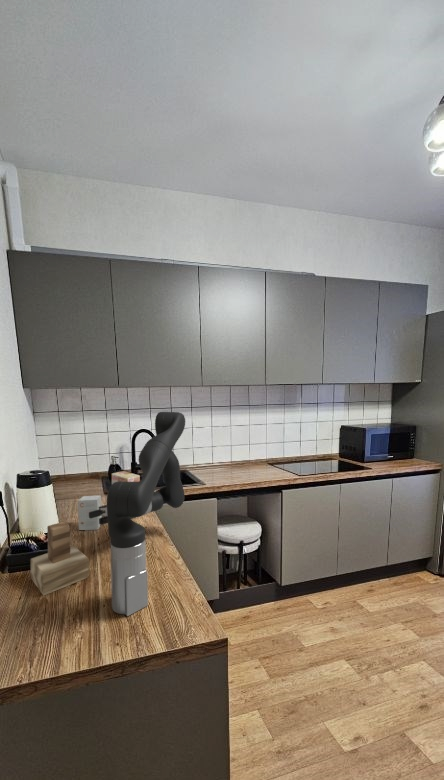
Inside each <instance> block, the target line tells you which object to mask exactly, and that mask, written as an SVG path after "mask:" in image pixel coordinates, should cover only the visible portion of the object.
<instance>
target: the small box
mask: <svg viewBox="0 0 444 780" xmlns="http://www.w3.org/2000/svg"><path fill="white" fill-rule="evenodd" d="M100 506H102V495H83V496H81V498H80V499H78V500H77V507H78V509H77V511H78V531H79V530H85V531H96V530H97V531H98V530H99V529H100V527H101V526H100V524H99V518H101V517H103V516H98V517H95V518H91V519H90V518H89V512H91V511H95V510H99V507H100Z"/></svg>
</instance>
